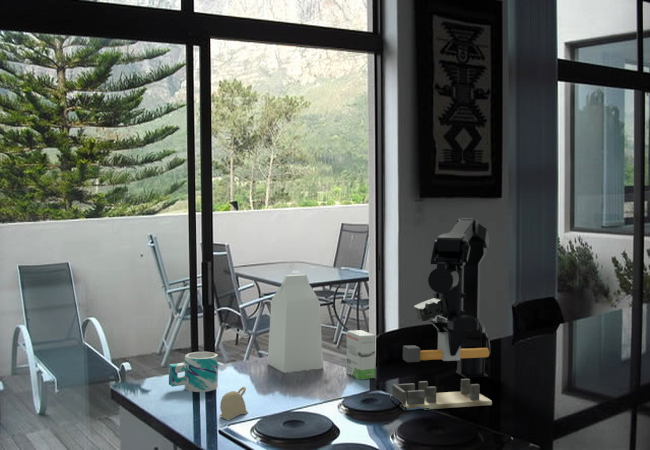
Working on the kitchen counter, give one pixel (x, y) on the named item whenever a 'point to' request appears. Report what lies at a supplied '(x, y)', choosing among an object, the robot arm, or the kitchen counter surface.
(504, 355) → the kitchen counter surface
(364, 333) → the ink box
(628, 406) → the kitchen counter surface
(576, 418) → the kitchen counter surface
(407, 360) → the toy hammer
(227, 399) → the decorative ornament
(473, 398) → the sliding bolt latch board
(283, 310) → the milk
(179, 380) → the mug
